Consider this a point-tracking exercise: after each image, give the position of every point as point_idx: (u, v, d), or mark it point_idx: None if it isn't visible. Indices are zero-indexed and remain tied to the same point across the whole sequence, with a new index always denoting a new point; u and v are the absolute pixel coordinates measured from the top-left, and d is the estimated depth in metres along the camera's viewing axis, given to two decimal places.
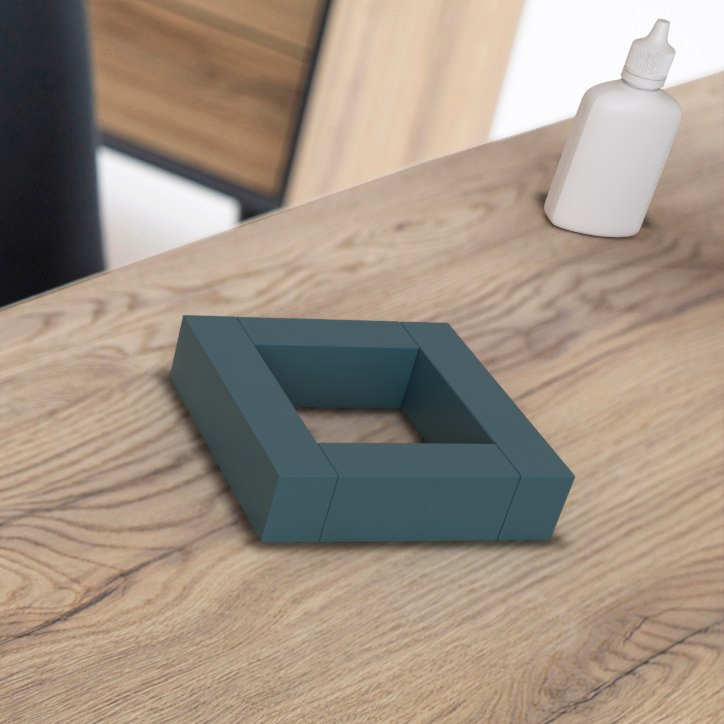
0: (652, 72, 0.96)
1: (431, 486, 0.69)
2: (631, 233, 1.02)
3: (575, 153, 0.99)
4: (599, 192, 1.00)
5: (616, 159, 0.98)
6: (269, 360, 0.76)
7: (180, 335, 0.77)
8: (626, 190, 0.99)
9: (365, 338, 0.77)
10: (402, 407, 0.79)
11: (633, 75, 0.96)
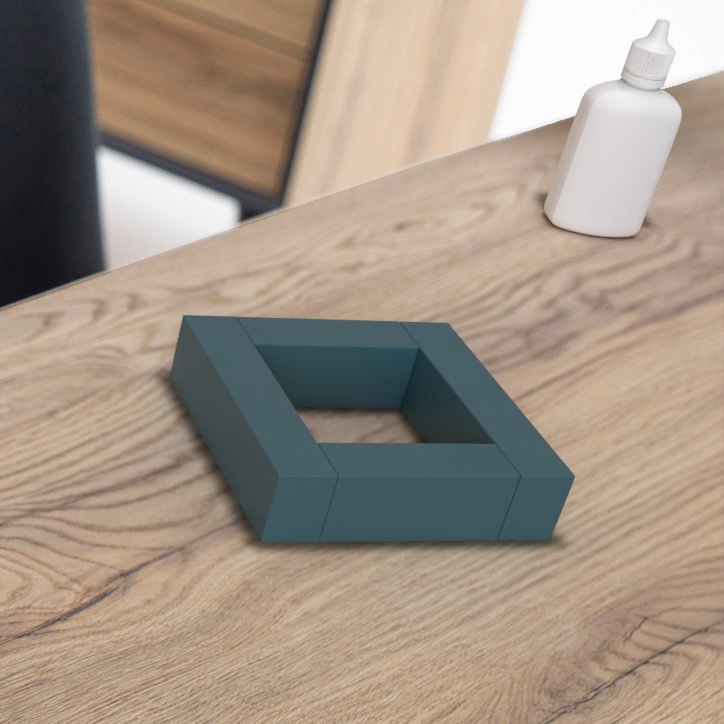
0: (652, 72, 0.96)
1: (431, 486, 0.69)
2: (631, 233, 1.02)
3: (575, 153, 0.99)
4: (599, 192, 1.00)
5: (616, 159, 0.98)
6: (269, 360, 0.76)
7: (180, 335, 0.77)
8: (626, 190, 0.99)
9: (365, 338, 0.77)
10: (402, 407, 0.79)
11: (633, 75, 0.96)
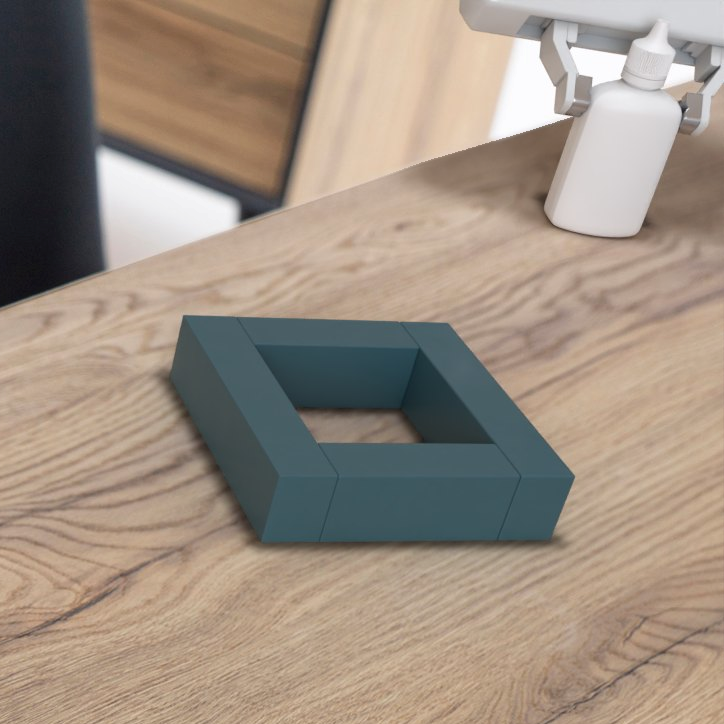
0: (652, 72, 0.96)
1: (431, 486, 0.69)
2: (631, 233, 1.02)
3: (575, 153, 0.99)
4: (599, 192, 1.00)
5: (616, 159, 0.98)
6: (269, 360, 0.76)
7: (180, 335, 0.77)
8: (626, 190, 0.99)
9: (365, 338, 0.77)
10: (402, 407, 0.79)
11: (633, 75, 0.96)
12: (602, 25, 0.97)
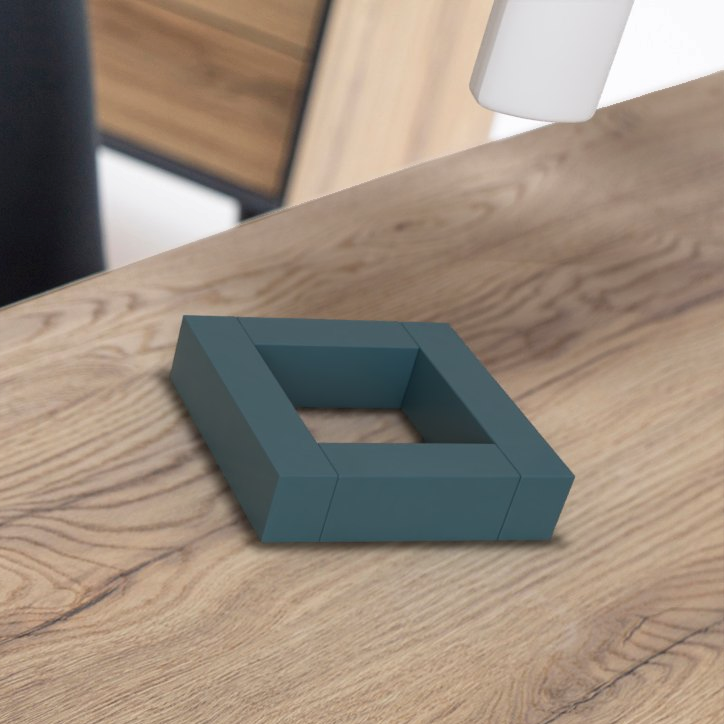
0: None
1: (431, 486, 0.69)
2: (583, 117, 0.77)
3: (506, 6, 0.74)
4: (539, 59, 0.75)
5: (560, 14, 0.74)
6: (269, 360, 0.76)
7: (180, 335, 0.77)
8: (575, 56, 0.75)
9: (365, 338, 0.77)
10: (402, 407, 0.79)
11: None
12: None
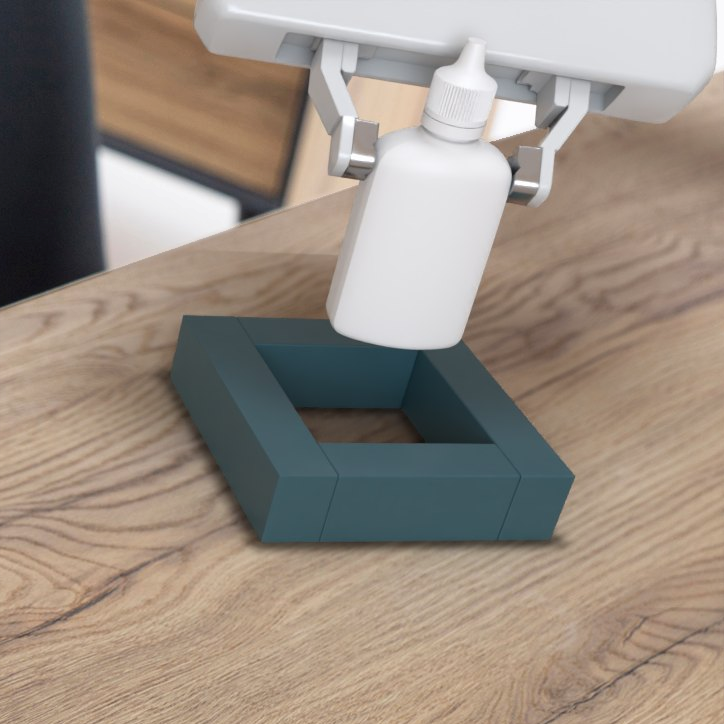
0: (462, 117, 0.65)
1: (431, 486, 0.69)
2: (449, 344, 0.71)
3: (359, 232, 0.68)
4: (396, 288, 0.69)
5: (417, 242, 0.67)
6: (269, 360, 0.76)
7: (180, 335, 0.77)
8: (435, 285, 0.69)
9: None
10: (402, 407, 0.79)
11: (435, 120, 0.65)
12: (393, 47, 0.66)
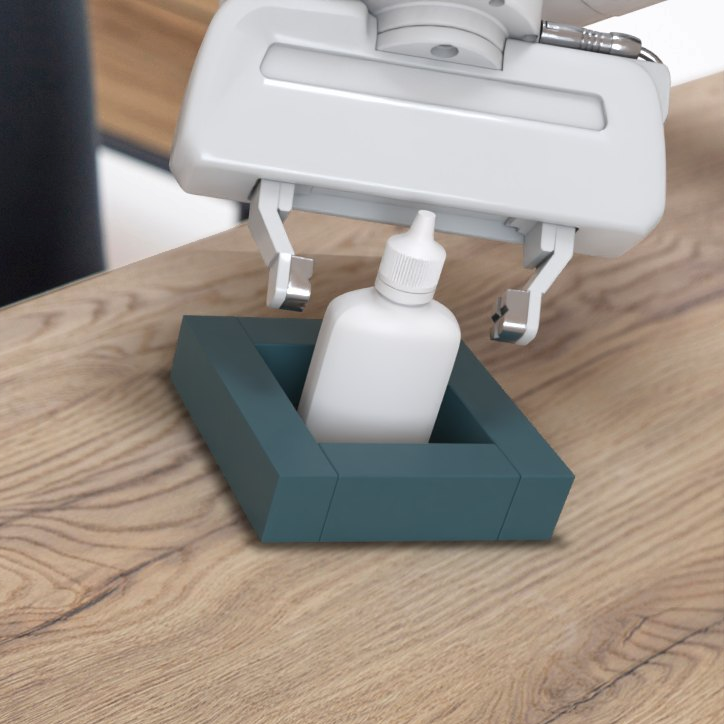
0: (412, 283, 0.69)
1: (431, 486, 0.69)
2: None
3: (317, 385, 0.72)
4: (352, 437, 0.73)
5: (371, 396, 0.71)
6: (269, 360, 0.76)
7: (180, 335, 0.77)
8: (389, 434, 0.73)
9: None
10: None
11: (387, 285, 0.69)
12: (359, 192, 0.70)
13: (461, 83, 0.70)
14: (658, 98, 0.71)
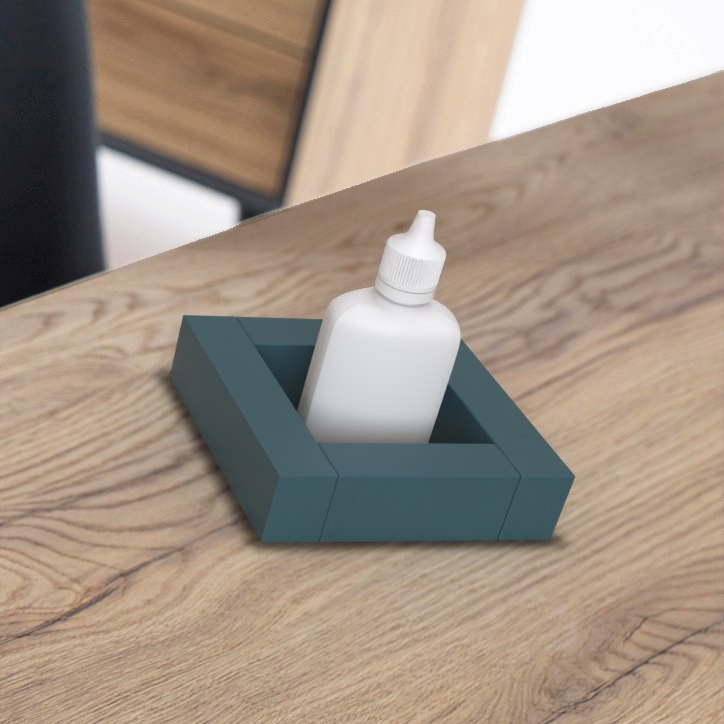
0: (412, 283, 0.69)
1: (431, 486, 0.69)
2: None
3: (317, 385, 0.72)
4: (352, 437, 0.73)
5: (371, 396, 0.71)
6: (269, 360, 0.76)
7: (180, 335, 0.77)
8: (389, 434, 0.73)
9: None
10: None
11: (387, 285, 0.69)
12: None
13: None
14: None
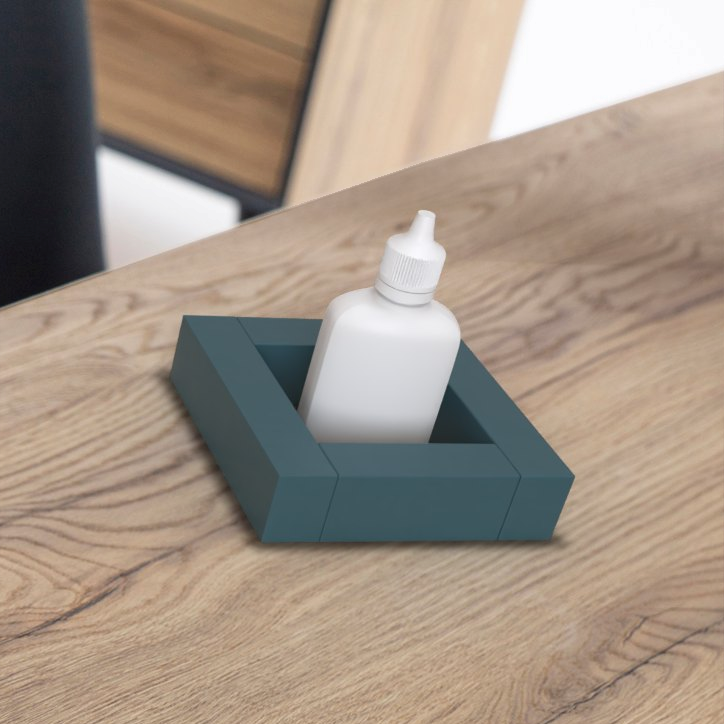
0: (412, 283, 0.69)
1: (431, 486, 0.69)
2: None
3: (317, 385, 0.72)
4: (352, 437, 0.73)
5: (371, 396, 0.71)
6: (269, 360, 0.76)
7: (180, 335, 0.77)
8: (389, 434, 0.73)
9: None
10: None
11: (387, 285, 0.69)
12: None
13: None
14: None
